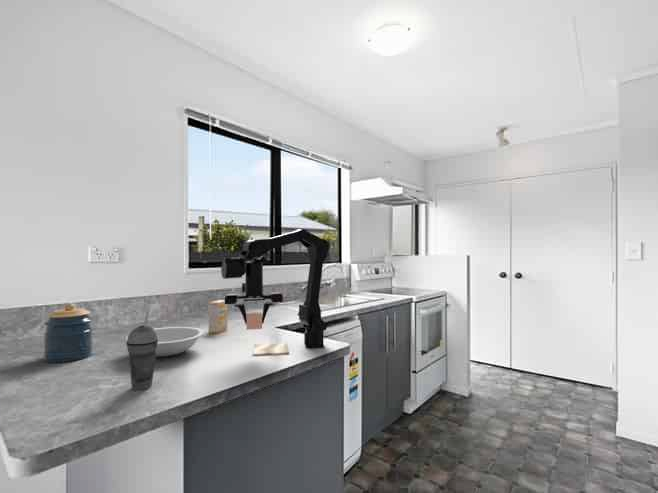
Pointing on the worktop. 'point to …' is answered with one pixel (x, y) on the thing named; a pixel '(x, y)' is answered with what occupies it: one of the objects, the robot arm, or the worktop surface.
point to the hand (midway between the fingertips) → (254, 323)
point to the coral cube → (254, 320)
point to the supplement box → (217, 316)
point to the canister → (68, 335)
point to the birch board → (270, 349)
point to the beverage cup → (142, 355)
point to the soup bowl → (175, 339)
